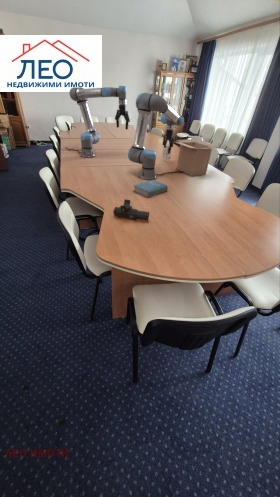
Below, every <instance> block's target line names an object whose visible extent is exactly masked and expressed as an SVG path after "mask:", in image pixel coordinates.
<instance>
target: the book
mask: <svg viewBox="0 0 280 497" xmlns="http://www.w3.org/2000/svg"><path fill="white" fill-rule="evenodd" d="M168 187H169V186H168V184H166V183H164V182H160V181H159V180H156V179H153V180H146V181H143V182H140V183H137V184H134V185H133V193H135V194H138V195H140V196H142V197H145V198H150V197H153V196H156V195H159V194H161V193H164V192H167V191H168Z"/></svg>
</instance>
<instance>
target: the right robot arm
mask: <svg viewBox="0 0 280 497" xmlns="http://www.w3.org/2000/svg"><path fill="white" fill-rule="evenodd" d="M136 96H137V97H136V99H135V107H136V109H137V113H138V115H137V121H136V127H135V135H134V141H133V144H131V147H130V148H129V149H128V150H127V157H128V160H129V161H130V162H131V163H136V164H139V165H141V169H140V172H139V178H140V179H142V180H146V181H150V180H156V178H157V176H163V175H166V174H177V173H178V174H179V173H183V172H182V171H168V172H167V171H166V172H163V173H160V174H159V173H156V169H155V167H156V158H157V153H156V152H155V150H153V149H149V148H145V146H144V143H145V137H146V131H147V128H148V121H149V116H150V115H151V114H152V112H158V113H159V114H162V115H161V117H160V122H161V124H163V125H166V126H165V127H166V128H165V134H163V135H162V136H163V138H162V139H163V140H162V146H163V148H167V146H169V149H168V154H170V151H171V152H172V148H173V147H174V143H175V138H176V137H175V136H173V135H174V129H175V128H174V127H175V126H178V127H182V126H183V125H184V123H185V117H183V116H180V115H179V114H178V113H177V112H176V111H175V110H174V109H173V108H172V107H171V105H169V102H168V101H167V100H166V99H165V98H164V97H162V96H161V95H160V94H156V93H150V92H149V93H148V92H141V93H139V94H138V95H136ZM167 144H168V145H167Z"/></svg>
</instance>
